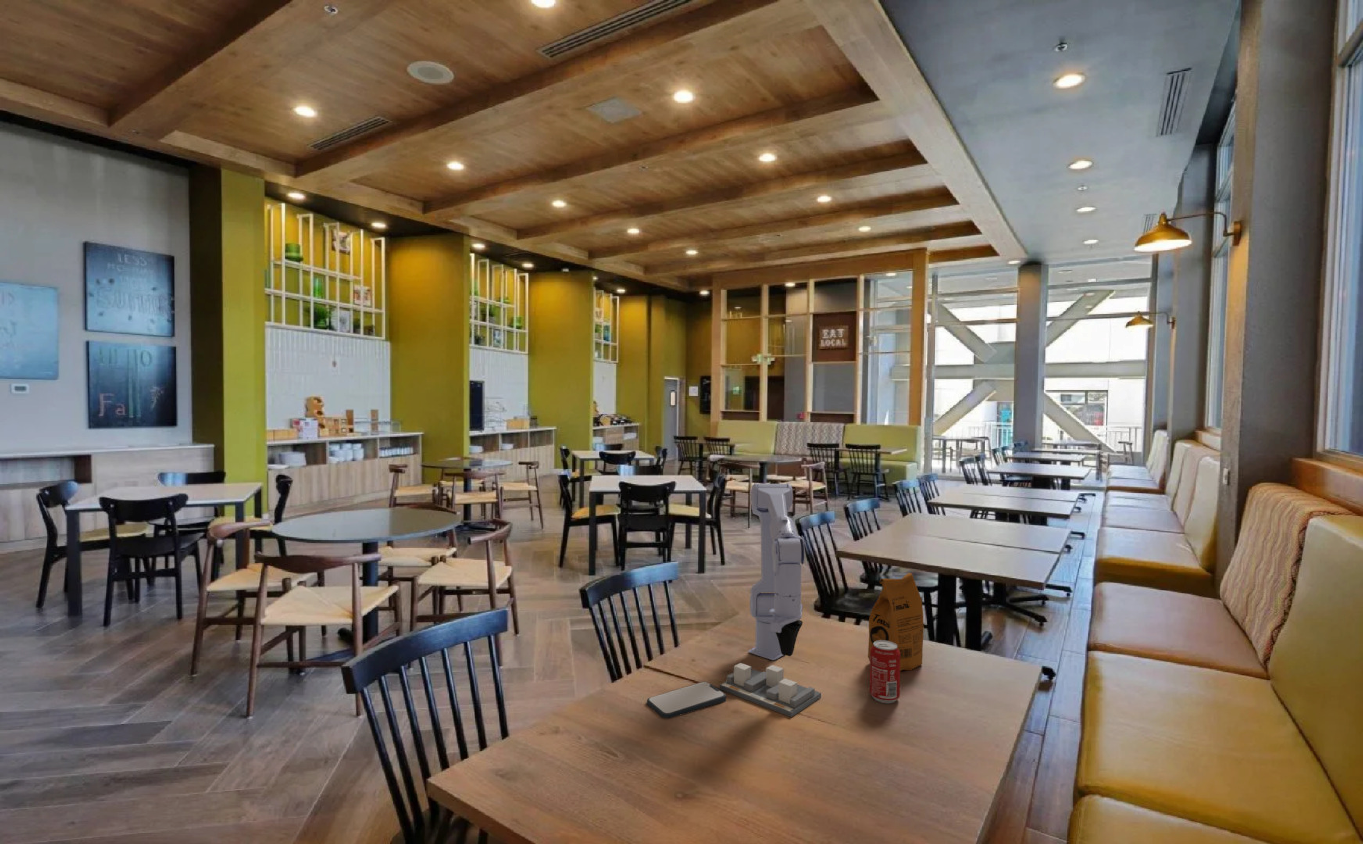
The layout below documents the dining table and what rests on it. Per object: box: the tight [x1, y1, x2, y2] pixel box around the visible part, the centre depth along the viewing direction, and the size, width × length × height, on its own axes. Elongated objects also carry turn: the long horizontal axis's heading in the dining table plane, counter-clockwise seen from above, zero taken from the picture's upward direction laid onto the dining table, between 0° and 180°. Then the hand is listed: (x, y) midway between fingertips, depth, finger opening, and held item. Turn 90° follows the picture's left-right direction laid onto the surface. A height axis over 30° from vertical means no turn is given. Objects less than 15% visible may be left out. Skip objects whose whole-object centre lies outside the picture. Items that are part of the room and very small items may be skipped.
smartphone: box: [646, 681, 727, 719], centre depth 140 cm, size 9×2×16 cm
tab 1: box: [733, 662, 752, 687], centre depth 147 cm, size 2×3×4 cm
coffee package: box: [867, 572, 924, 672], centre depth 160 cm, size 10×12×22 cm
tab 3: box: [779, 678, 798, 704], centre depth 139 cm, size 2×3×4 cm
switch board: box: [718, 666, 822, 718], centre depth 144 cm, size 12×19×2 cm, turn 48°
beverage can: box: [869, 640, 901, 704], centre depth 142 cm, size 6×6×12 cm
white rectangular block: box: [765, 664, 784, 687], centre depth 146 cm, size 2×3×4 cm
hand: (787, 654), depth 141 cm, fingers closed
